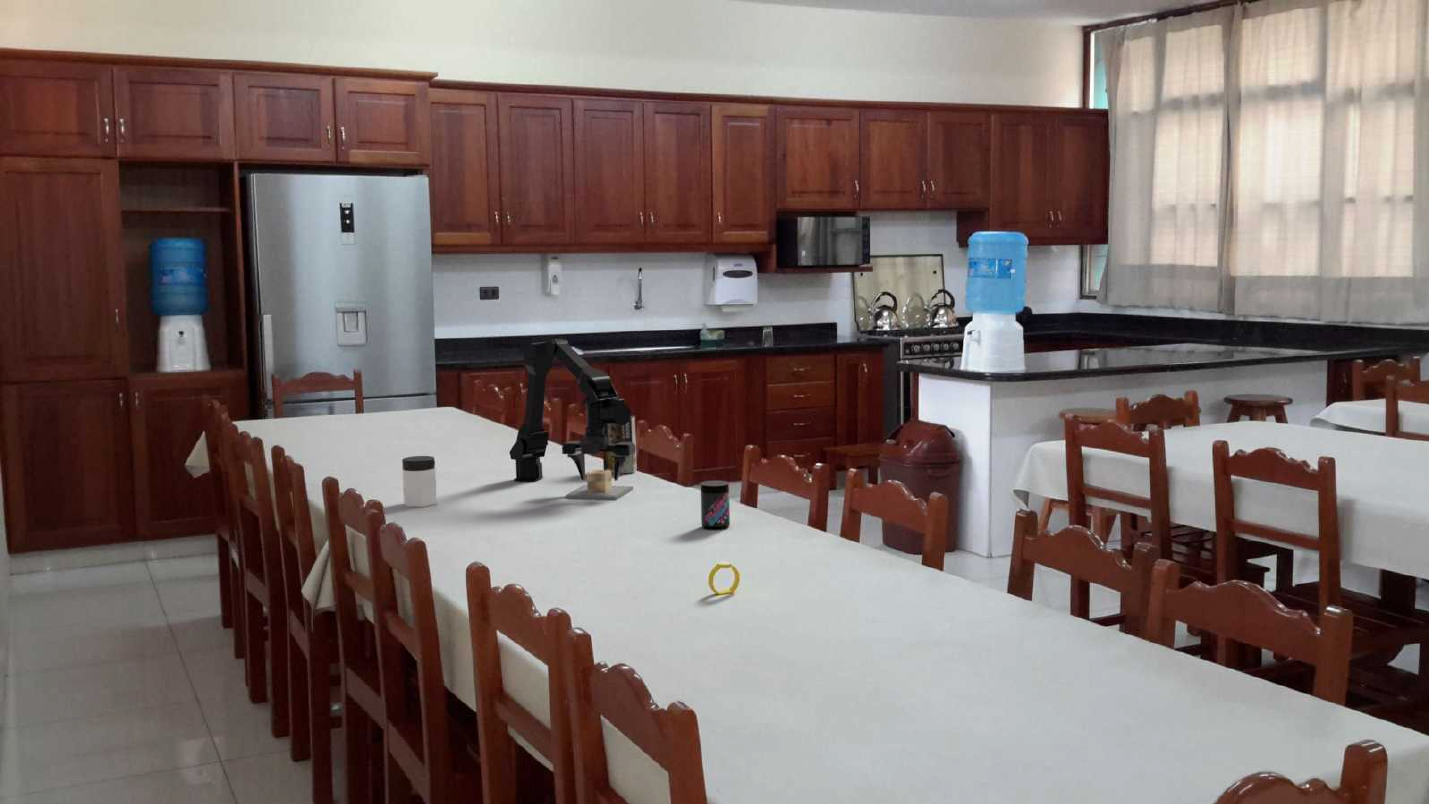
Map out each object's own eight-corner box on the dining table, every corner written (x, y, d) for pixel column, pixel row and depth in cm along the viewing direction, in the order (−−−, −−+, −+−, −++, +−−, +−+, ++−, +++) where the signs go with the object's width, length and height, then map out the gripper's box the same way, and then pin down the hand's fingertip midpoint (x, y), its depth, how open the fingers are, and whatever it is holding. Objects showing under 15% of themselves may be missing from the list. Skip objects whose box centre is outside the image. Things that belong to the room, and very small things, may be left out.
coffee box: (637, 469, 367) (635, 415, 365) (633, 473, 361) (632, 418, 359) (606, 469, 368) (605, 415, 366) (602, 473, 362) (601, 418, 359)
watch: (734, 590, 239) (735, 560, 238) (741, 594, 236) (742, 563, 236) (706, 593, 236) (707, 562, 235) (712, 596, 233) (714, 565, 233)
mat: (565, 498, 327) (565, 494, 327) (584, 487, 341) (584, 484, 341) (616, 499, 324) (616, 496, 324) (633, 489, 337) (633, 486, 337)
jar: (439, 505, 321) (436, 459, 319) (406, 508, 318) (404, 462, 316) (434, 499, 329) (432, 454, 327) (402, 502, 326) (400, 456, 325)
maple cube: (587, 491, 330) (587, 473, 330) (594, 488, 335) (593, 469, 335) (605, 492, 329) (604, 473, 329) (611, 488, 334) (611, 470, 333)
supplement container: (698, 530, 288) (697, 485, 287) (704, 523, 295) (703, 480, 293) (726, 531, 287) (726, 486, 285) (732, 524, 293) (731, 480, 292)
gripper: (553, 425, 324) (555, 485, 326) (621, 427, 320) (623, 487, 322) (568, 419, 335) (570, 477, 337) (635, 421, 330) (636, 479, 332)
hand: (599, 480), depth 332 cm, fingers open, 9 cm apart
